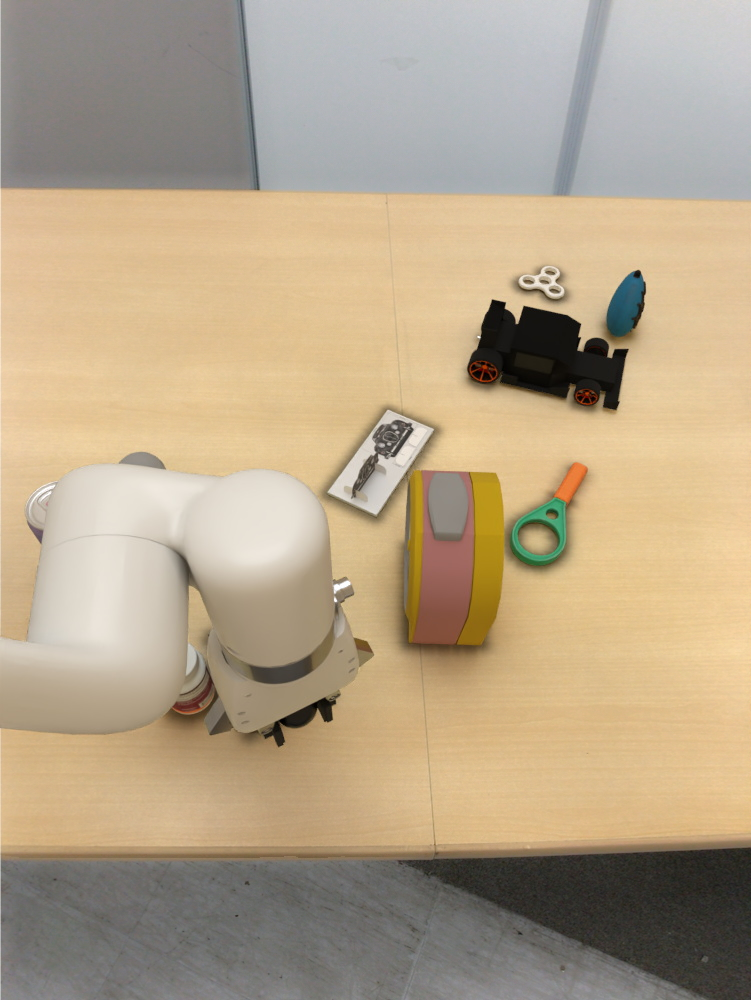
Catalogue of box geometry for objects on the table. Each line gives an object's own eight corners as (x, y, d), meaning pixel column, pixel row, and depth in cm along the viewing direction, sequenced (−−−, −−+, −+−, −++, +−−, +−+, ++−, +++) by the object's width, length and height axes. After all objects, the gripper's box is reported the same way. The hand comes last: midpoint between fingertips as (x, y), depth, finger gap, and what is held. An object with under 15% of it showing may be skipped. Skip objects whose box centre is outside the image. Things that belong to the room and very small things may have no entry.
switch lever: (327, 724, 60) (321, 700, 58) (286, 744, 59) (278, 720, 57) (269, 613, 69) (262, 588, 67) (233, 629, 68) (224, 604, 66)
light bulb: (141, 492, 88) (118, 438, 79) (186, 498, 87) (167, 444, 79) (126, 531, 84) (100, 479, 76) (172, 537, 84) (152, 485, 76)
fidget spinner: (551, 267, 112) (552, 262, 112) (578, 291, 109) (579, 286, 109) (514, 282, 110) (515, 277, 110) (541, 307, 107) (542, 302, 107)
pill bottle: (162, 680, 74) (141, 646, 67) (208, 662, 76) (192, 627, 69) (174, 723, 72) (154, 692, 65) (221, 704, 73) (207, 672, 66)
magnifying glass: (548, 575, 82) (552, 568, 81) (499, 550, 84) (502, 542, 82) (601, 483, 89) (605, 474, 88) (555, 461, 91) (558, 452, 90)
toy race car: (614, 415, 96) (631, 374, 90) (464, 379, 99) (470, 338, 93) (624, 360, 101) (640, 319, 95) (481, 328, 105) (488, 286, 99)
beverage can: (91, 617, 78) (40, 543, 66) (64, 579, 81) (10, 501, 68) (140, 584, 80) (100, 506, 68) (112, 549, 83) (69, 467, 71)
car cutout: (376, 517, 86) (377, 495, 82) (327, 494, 88) (326, 471, 84) (433, 431, 94) (436, 407, 90) (387, 411, 95) (388, 387, 92)
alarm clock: (403, 535, 85) (411, 431, 70) (474, 538, 85) (499, 434, 70) (401, 658, 76) (411, 570, 61) (481, 661, 76) (511, 573, 61)
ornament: (630, 352, 102) (653, 294, 94) (596, 343, 103) (616, 285, 95) (639, 314, 107) (662, 256, 99) (607, 306, 108) (627, 248, 100)
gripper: (366, 527, 51) (366, 638, 66) (131, 629, 47) (188, 723, 62) (419, 615, 47) (406, 712, 62) (170, 735, 43) (220, 808, 58)
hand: (298, 717), depth 62 cm, fingers closed on switch lever, 3 cm apart
